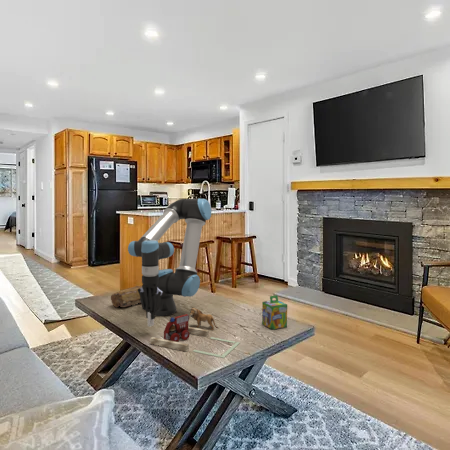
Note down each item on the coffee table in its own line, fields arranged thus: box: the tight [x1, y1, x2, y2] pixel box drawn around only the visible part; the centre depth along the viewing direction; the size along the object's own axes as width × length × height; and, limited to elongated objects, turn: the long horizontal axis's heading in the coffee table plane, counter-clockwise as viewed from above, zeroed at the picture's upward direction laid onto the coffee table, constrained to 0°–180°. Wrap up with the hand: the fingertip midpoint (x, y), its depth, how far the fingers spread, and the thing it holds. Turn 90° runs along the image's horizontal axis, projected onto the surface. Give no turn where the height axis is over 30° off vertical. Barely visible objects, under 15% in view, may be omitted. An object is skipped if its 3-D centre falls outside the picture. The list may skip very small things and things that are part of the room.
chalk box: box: [261, 294, 288, 330], centre depth 176 cm, size 9×9×15 cm
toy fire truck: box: [163, 313, 191, 342], centre depth 159 cm, size 7×12×10 cm, turn 128°
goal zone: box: [192, 336, 241, 359], centre depth 151 cm, size 14×16×1 cm
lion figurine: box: [189, 307, 219, 331], centre depth 173 cm, size 15×5×9 cm, turn 71°
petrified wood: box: [110, 285, 142, 308], centre depth 211 cm, size 19×13×10 cm
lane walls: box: [150, 326, 210, 352], centre depth 158 cm, size 18×19×2 cm
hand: (150, 325), depth 165 cm, fingers closed
